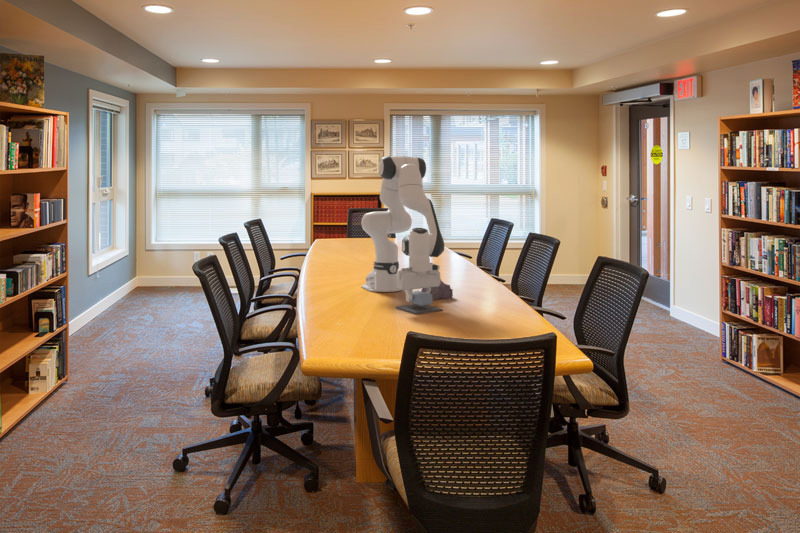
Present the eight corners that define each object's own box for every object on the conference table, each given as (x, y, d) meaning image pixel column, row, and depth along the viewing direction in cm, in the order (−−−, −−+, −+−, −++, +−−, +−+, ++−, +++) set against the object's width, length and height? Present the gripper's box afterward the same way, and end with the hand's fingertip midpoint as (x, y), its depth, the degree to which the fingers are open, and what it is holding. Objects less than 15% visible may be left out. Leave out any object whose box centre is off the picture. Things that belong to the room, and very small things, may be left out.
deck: (432, 303, 289) (432, 294, 288) (420, 305, 285) (420, 295, 285) (417, 299, 298) (417, 290, 297) (405, 301, 294) (405, 291, 294)
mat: (395, 308, 294) (395, 306, 294) (422, 304, 302) (422, 303, 302) (415, 314, 282) (415, 312, 282) (442, 310, 290) (442, 308, 290)
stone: (422, 278, 311) (453, 276, 315) (418, 277, 317) (449, 275, 321) (423, 301, 312) (454, 298, 316) (419, 299, 318) (449, 297, 322)
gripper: (403, 269, 281) (403, 302, 283) (442, 265, 292) (442, 297, 294) (394, 267, 286) (394, 300, 288) (434, 264, 297) (433, 295, 299)
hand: (419, 298), depth 291 cm, fingers closed on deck, 6 cm apart
